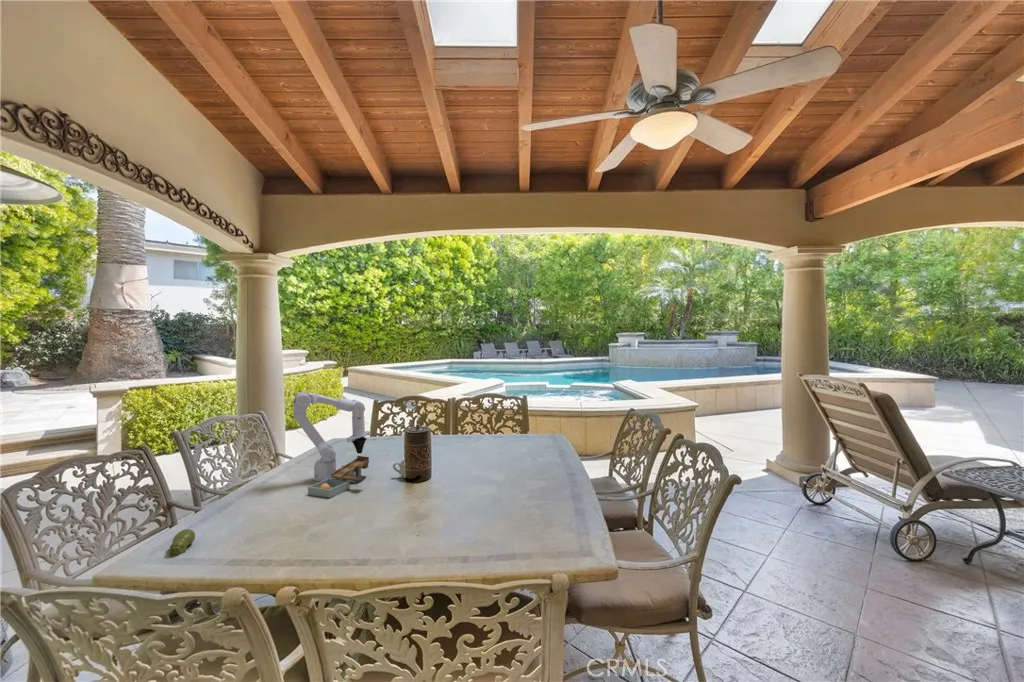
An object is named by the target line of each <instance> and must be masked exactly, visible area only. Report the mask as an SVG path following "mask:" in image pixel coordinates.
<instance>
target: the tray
mask: <svg viewBox="0 0 1024 682" xmlns="http://www.w3.org/2000/svg"><path fill="white" fill-rule="evenodd" d="M325 483H326V484H328V485H329V486H330V489H323V488H320V487H321V485H322V484H325ZM350 484H351V483H350V481H345V480H342V479H338V478H337V479H331V478H328V479H325V480H323V481H317V482H316V483H314V484H311V485H309V486H308V487H307V495H308V496H311V495H312V496H313V497H317V496H319V498H323V497H324V499H329V498H330V499H332V498H334V497H336V496H338V495H340V494H342V493H344V492H346V491H348V489H349V490H350V487H351V485H350Z"/></svg>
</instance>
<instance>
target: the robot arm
mask: <svg viewBox="0 0 1024 682" xmlns="http://www.w3.org/2000/svg"><path fill="white" fill-rule="evenodd" d="M318 403H320V404H326V405H330V406H335V409H336V410H340V411H344V412H345V411H346V412H348V413H349V412H351V416H352V417H351V424H352V426H351V427H352V428H351V429H352V435H350V436H349V437H346V442H347V443H352V444H353V446H354V448H355V451H356V453H357V454H362V453H363V450H364V445H365V443H366V441H367V436H371V431H369V430H367V431H365V429H366V427H365V411H366V407H365V404H364V403H363V402H361V401H359V400H356V399H349V398H347V397H346V396H342V397H338V398H333V397H329V396H326V395H322V394H318V393H314V392H313V393H312V392H306V391H299V392H298V393H296V394H295V396H294V398H293V401H292V417H293V419H294V420H295V421H296V422H297V424H298V425H299V427H300V428H301V429H302V430H303V432H304V434H306V435H307V437H308V438H309V440H310V441H311V442H312V443H313V445H314V446H315V448H316V449H317V451H318V452H319V456H320V459H317V460H316V461H315V463H314V465H313V466H314V467H313V476H314V478H313V479H312V480H313V481H317V482H321V481H323V480H325V479H328V478H331V479H338V478H332V474H331V473H333V472H335V471H336V470H337V461H336V459H337V458H336V455H337V452H336V450H334V447H333V446H332V445H331V444H328V442H326V441H325V439H324V438H323V437H322V436H321V434H320V433H319V431H318V430H317V428H315V426H314V424H313V423H312V422H311V421H310V419H309V418H308V416H306V412H307V411H308V410H307V409H308V408H309V406H310V405H315V404H318Z"/></svg>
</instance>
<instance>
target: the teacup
mask: <svg viewBox="0 0 1024 682" xmlns="http://www.w3.org/2000/svg"><path fill="white" fill-rule="evenodd" d="M396 465H398V466H399V469H397V467H396ZM392 468H393V470H394V471H395V472H397V473H398V474H399V475H400V476H401V477H402V478H404V479H405V475H406V474H405V465H404V459H401V460H400V461H395V462H394V463H393V464H392Z"/></svg>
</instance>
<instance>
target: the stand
mask: <svg viewBox="0 0 1024 682" xmlns="http://www.w3.org/2000/svg"><path fill="white" fill-rule="evenodd" d="M345 465H346V464H344V465H341V466H340V468H341V467H343V466H345ZM358 475H362V468H361V467H358V468H356V471H355V477H357V476H358ZM341 480H345V481H350V484H352V483H353V485H358V483H359V484H360V482H356V481H353V480H347V479H341ZM361 483H362V481H361Z"/></svg>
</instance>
